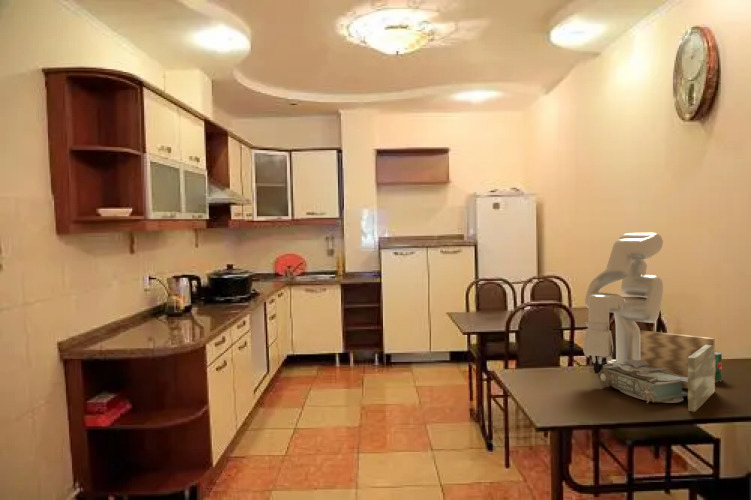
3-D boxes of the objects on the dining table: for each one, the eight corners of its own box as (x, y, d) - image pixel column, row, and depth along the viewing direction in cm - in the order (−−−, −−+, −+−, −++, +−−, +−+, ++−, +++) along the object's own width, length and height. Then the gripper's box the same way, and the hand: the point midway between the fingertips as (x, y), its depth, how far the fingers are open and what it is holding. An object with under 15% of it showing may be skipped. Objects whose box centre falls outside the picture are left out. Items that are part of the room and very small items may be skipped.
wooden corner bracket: (616, 396, 190) (616, 342, 189) (642, 379, 210) (641, 330, 209) (695, 411, 172) (694, 352, 171) (714, 391, 192) (714, 338, 191)
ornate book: (592, 387, 202) (660, 409, 174) (592, 362, 202) (659, 381, 174) (635, 380, 210) (706, 400, 183) (635, 356, 210) (706, 373, 182)
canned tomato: (726, 381, 204) (726, 354, 203) (706, 382, 204) (706, 354, 203) (713, 376, 211) (713, 349, 211) (694, 376, 212) (694, 349, 211)
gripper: (575, 325, 205) (575, 371, 205) (614, 329, 194) (613, 378, 194) (584, 323, 210) (583, 368, 210) (622, 327, 199) (621, 375, 200)
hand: (598, 373), depth 202 cm, fingers closed
